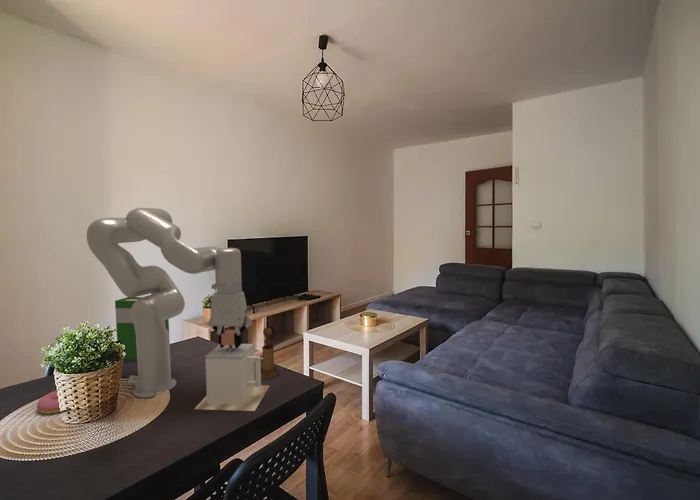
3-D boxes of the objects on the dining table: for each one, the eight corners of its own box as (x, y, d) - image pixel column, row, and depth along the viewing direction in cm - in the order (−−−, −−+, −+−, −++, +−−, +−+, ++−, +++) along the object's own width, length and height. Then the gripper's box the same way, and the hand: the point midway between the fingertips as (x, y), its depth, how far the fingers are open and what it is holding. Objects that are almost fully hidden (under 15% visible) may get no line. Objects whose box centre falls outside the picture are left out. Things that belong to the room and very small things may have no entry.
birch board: (194, 412, 103) (193, 409, 103) (217, 386, 119) (217, 384, 119) (254, 414, 103) (254, 410, 102) (270, 388, 118) (270, 385, 118)
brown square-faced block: (212, 396, 107) (210, 336, 106) (224, 383, 116) (222, 327, 114) (240, 396, 107) (238, 336, 105) (249, 384, 115) (248, 328, 114)
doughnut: (48, 420, 100) (47, 406, 100) (29, 411, 105) (28, 397, 104) (91, 402, 110) (90, 389, 109) (72, 394, 115) (71, 382, 114)
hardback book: (170, 353, 150) (167, 297, 148) (158, 360, 142) (156, 301, 141) (131, 352, 152) (128, 296, 150) (118, 358, 144) (114, 300, 142)
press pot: (207, 404, 106) (205, 356, 105) (222, 387, 117) (220, 343, 116) (254, 405, 105) (253, 357, 104) (265, 388, 116) (264, 344, 115)
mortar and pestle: (273, 381, 123) (272, 331, 122) (255, 380, 124) (254, 330, 123) (280, 373, 130) (279, 325, 128) (264, 372, 131) (263, 324, 130)
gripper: (196, 290, 105) (198, 350, 107) (251, 290, 105) (253, 351, 106) (207, 285, 113) (209, 342, 114) (259, 286, 112) (260, 342, 113)
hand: (230, 345), depth 110 cm, fingers closed on brown square-faced block, 4 cm apart
